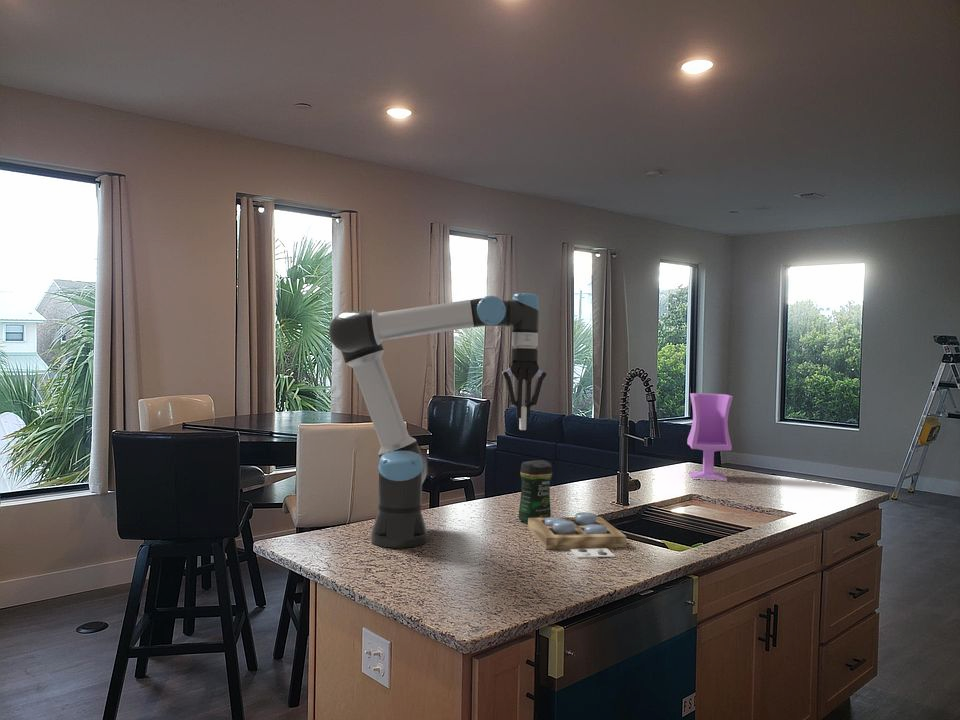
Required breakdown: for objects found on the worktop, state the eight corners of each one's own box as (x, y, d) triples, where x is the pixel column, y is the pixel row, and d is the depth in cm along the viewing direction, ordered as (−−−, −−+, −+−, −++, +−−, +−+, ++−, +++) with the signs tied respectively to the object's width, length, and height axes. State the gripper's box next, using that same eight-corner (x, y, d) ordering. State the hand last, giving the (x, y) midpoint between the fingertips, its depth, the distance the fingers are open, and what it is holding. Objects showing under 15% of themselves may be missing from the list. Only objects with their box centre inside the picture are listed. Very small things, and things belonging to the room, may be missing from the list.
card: (577, 558, 181) (577, 556, 181) (569, 550, 188) (569, 548, 188) (615, 557, 182) (615, 555, 182) (606, 549, 189) (606, 547, 189)
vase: (690, 480, 294) (693, 395, 294) (686, 473, 310) (688, 392, 309) (730, 482, 292) (733, 396, 291) (724, 475, 307) (726, 394, 306)
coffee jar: (531, 526, 213) (533, 463, 212) (514, 520, 219) (515, 460, 219) (555, 521, 218) (557, 461, 218) (538, 516, 225) (539, 457, 224)
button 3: (578, 526, 203) (578, 517, 203) (572, 521, 209) (572, 512, 208) (599, 525, 204) (599, 517, 203) (592, 520, 209) (592, 512, 209)
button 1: (547, 531, 201) (547, 522, 201) (542, 525, 207) (542, 517, 207) (568, 530, 202) (568, 522, 202) (562, 525, 208) (562, 516, 208)
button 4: (588, 539, 194) (588, 530, 194) (581, 533, 200) (581, 524, 200) (609, 538, 195) (609, 529, 195) (602, 533, 201) (602, 524, 201)
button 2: (555, 535, 192) (556, 526, 192) (550, 529, 198) (550, 520, 198) (577, 534, 193) (577, 525, 193) (571, 529, 199) (571, 520, 199)
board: (546, 549, 188) (546, 537, 188) (527, 528, 210) (528, 517, 210) (626, 547, 192) (626, 536, 192) (600, 526, 213) (600, 516, 213)
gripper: (504, 347, 201) (502, 430, 201) (550, 348, 203) (547, 431, 203) (500, 347, 208) (498, 427, 209) (543, 348, 210) (541, 428, 211)
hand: (522, 429), depth 206 cm, fingers closed
